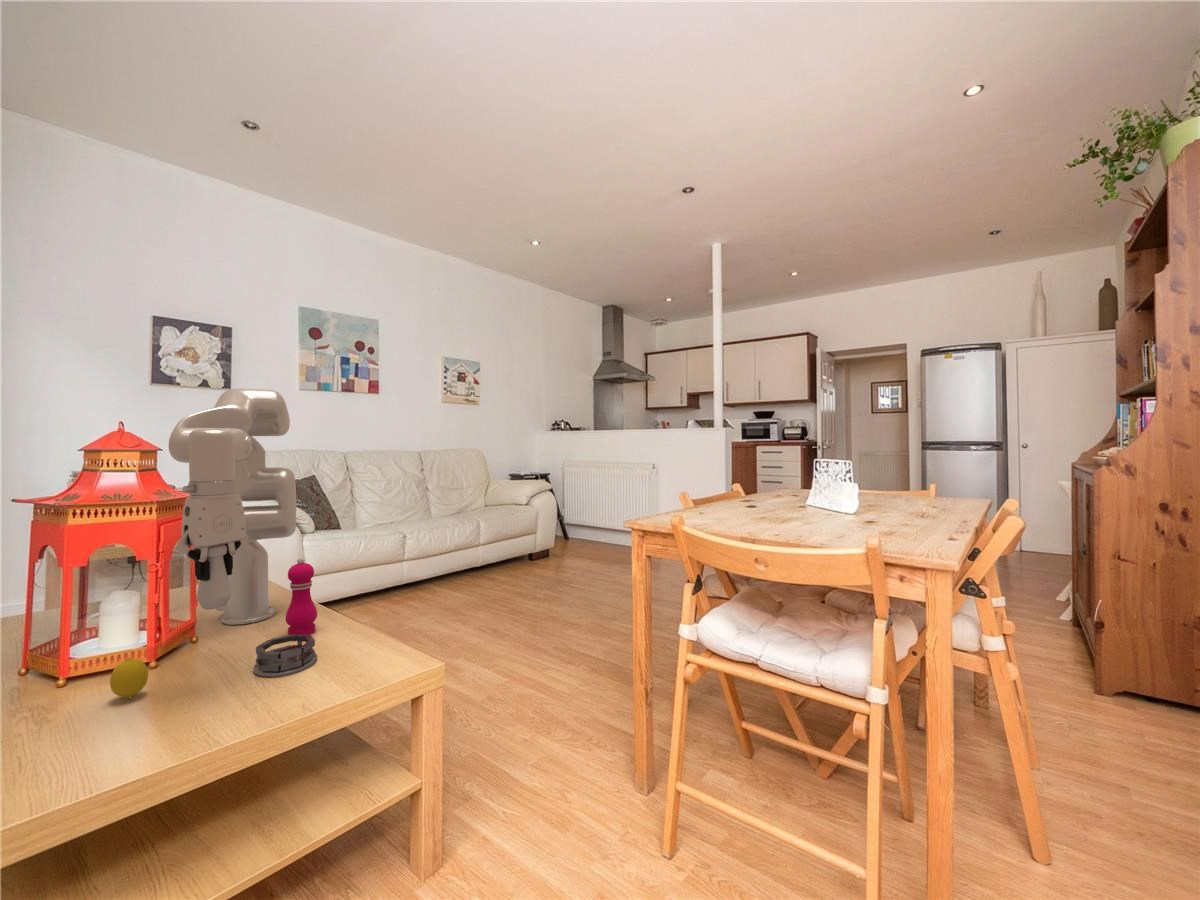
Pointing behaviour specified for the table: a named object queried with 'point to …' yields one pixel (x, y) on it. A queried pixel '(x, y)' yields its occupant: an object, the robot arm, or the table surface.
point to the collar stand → (285, 656)
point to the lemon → (129, 677)
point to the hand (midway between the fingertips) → (214, 576)
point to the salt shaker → (215, 581)
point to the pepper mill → (301, 599)
